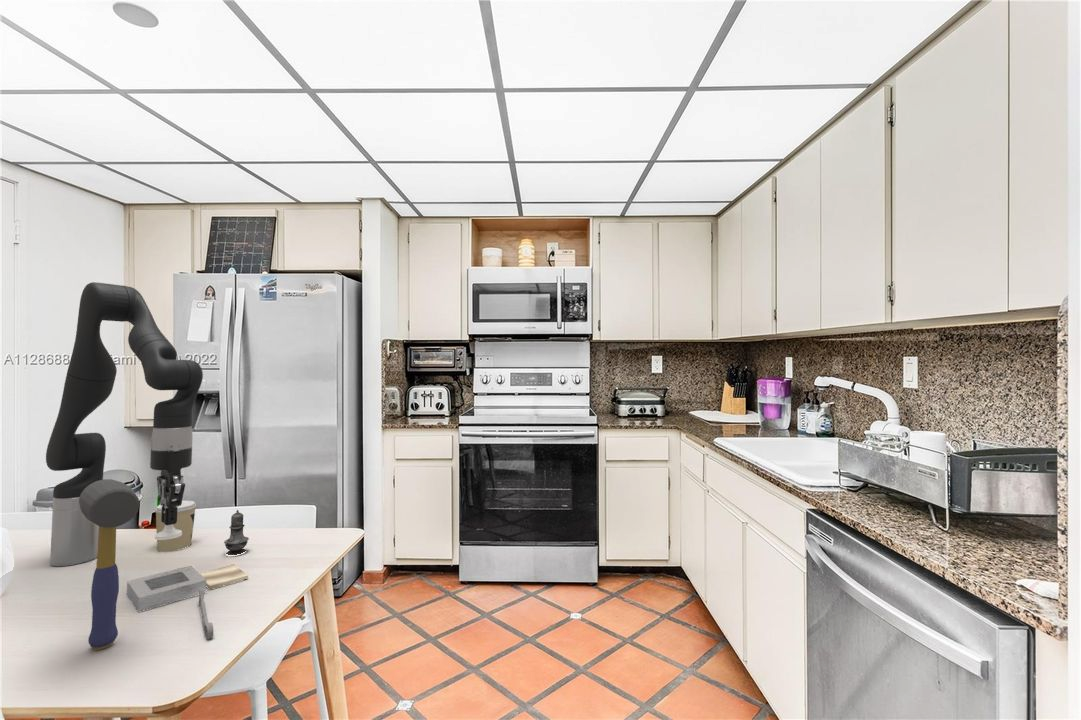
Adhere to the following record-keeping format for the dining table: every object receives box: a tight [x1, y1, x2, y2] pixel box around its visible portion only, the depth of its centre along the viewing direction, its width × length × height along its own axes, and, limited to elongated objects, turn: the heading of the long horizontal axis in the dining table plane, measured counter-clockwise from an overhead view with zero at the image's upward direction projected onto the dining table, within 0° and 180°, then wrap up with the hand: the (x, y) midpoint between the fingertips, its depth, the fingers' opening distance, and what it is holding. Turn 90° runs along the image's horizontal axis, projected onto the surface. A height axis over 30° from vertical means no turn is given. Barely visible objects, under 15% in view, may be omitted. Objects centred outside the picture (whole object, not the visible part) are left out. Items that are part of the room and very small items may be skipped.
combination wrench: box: [198, 587, 214, 641], centre depth 99 cm, size 4×1×20 cm
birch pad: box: [199, 563, 249, 590], centre depth 118 cm, size 10×8×1 cm
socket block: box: [126, 565, 207, 612], centre depth 109 cm, size 12×12×3 cm
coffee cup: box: [154, 500, 197, 553], centre depth 138 cm, size 9×9×12 cm
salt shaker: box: [223, 509, 250, 555], centre depth 134 cm, size 6×6×12 cm
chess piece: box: [154, 499, 182, 541], centre depth 110 cm, size 5×5×10 cm
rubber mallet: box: [79, 478, 140, 651], centre depth 89 cm, size 12×8×30 cm, turn 50°
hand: (169, 522), depth 110 cm, fingers closed on chess piece
